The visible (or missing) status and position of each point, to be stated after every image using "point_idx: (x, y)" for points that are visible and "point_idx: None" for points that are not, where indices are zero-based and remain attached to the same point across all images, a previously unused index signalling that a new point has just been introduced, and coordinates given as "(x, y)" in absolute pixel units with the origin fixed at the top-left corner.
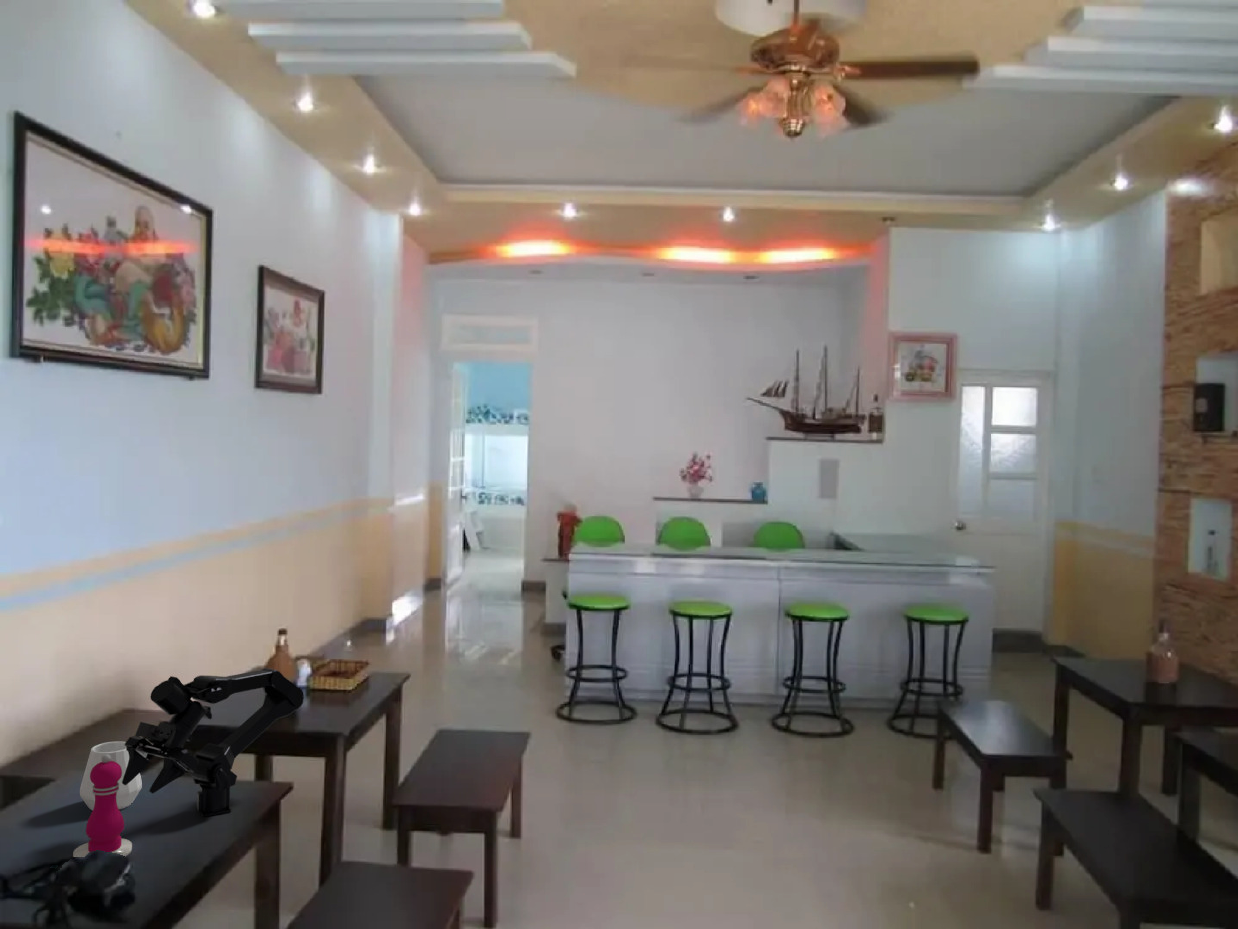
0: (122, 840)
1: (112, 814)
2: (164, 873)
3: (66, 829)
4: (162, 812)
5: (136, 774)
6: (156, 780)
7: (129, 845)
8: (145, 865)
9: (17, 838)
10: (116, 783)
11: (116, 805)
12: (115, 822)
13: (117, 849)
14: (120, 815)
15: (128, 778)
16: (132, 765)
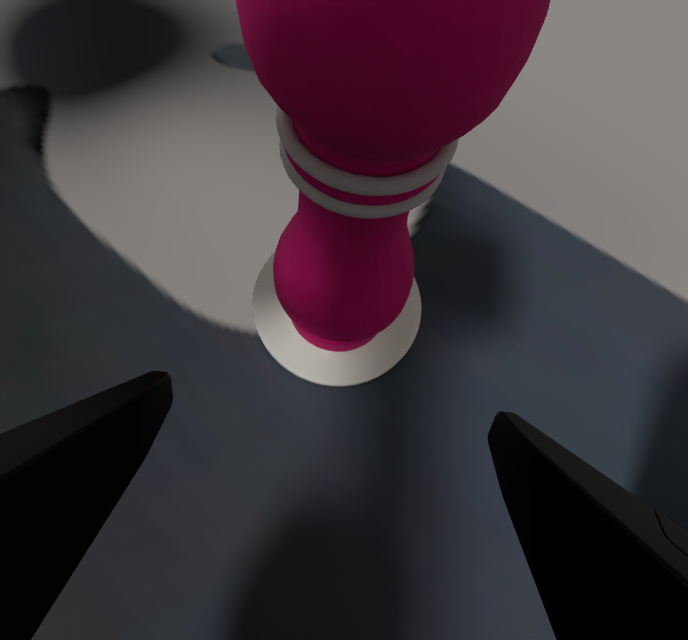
0: (335, 371)
1: (290, 225)
2: (49, 279)
3: (603, 390)
4: None
5: (540, 575)
6: (70, 414)
7: (279, 351)
8: (148, 297)
9: (636, 285)
10: (297, 124)
11: (301, 236)
12: (277, 248)
13: None
14: (288, 275)
15: (514, 464)
16: (635, 560)
